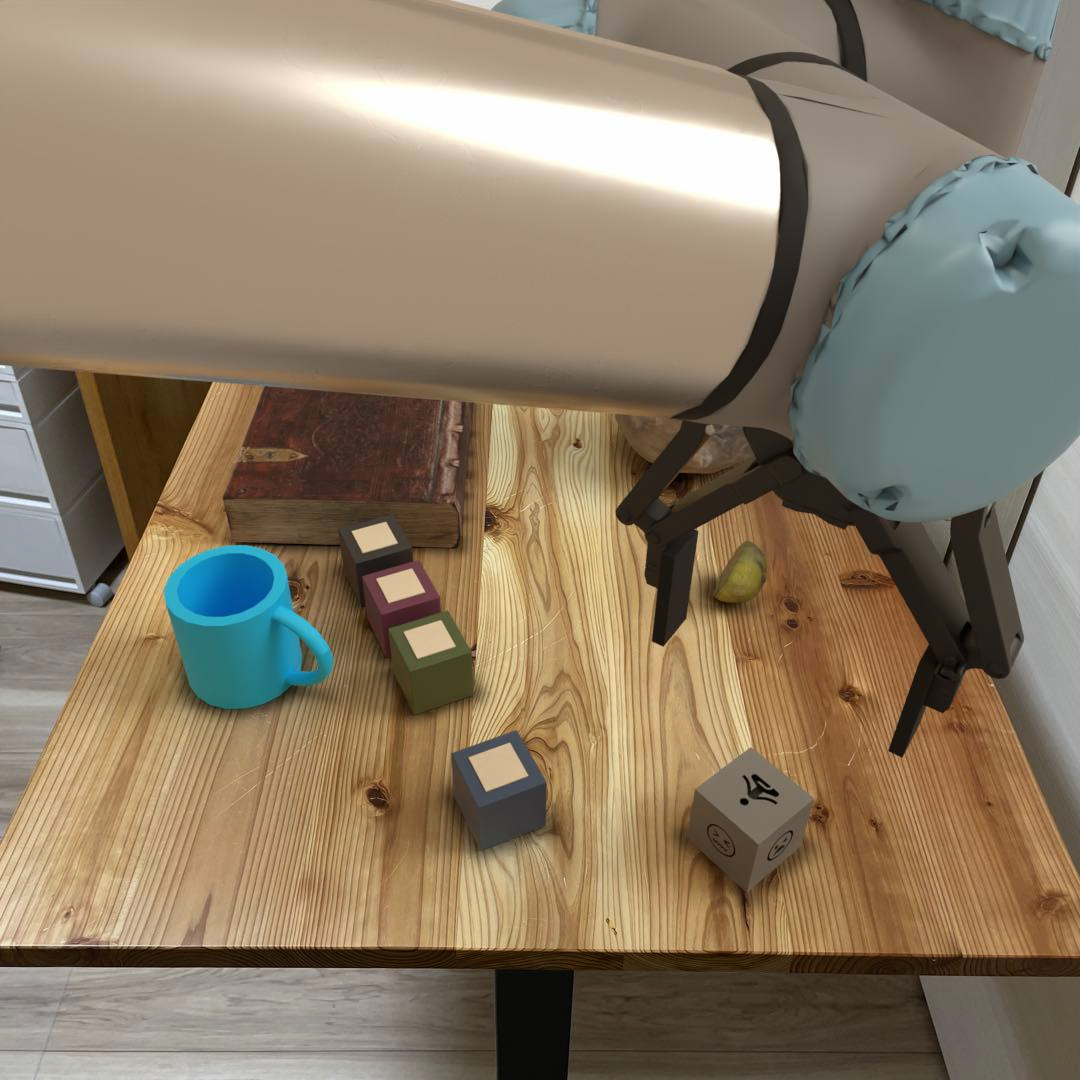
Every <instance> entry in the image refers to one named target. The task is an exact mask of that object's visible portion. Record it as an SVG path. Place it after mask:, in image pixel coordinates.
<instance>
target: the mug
mask: <svg viewBox="0 0 1080 1080" xmlns="http://www.w3.org/2000/svg"><path fill="white" fill-rule="evenodd" d="M163 596H164V602H165V606H166V610H167V613H168V616H169V621H170V624H171V627H172V631H173V634H174V637H175V641H176V644H177V647H178V651H179V654H180V657H181V661H182V664H183V669H184V672H185V674H186V678H187V681H188V686H189V688H190V689H191V690H192V692H193V693H194V694H195V696H196V697H197V698H198V699H199V700H201V701H203V702H204V703H206V704H208V705H209V706H213V707H216V708H221V709H224V710H246V709H250V708H254V707H257V706H261V705H265V704H267V703H269V702H271V701H273V700H274V699H276V698H278V697H281V695H283V693H285V692H286V691H287V690H288V689H290V688H291V687H292V686H298V687H311V686H315V685H318V684H321V683H323V682H324V681H325V680H327V678H328V677H329V676H330V675H331V673H332V672H333V669H334V668H333V666H334V656H333V653H332V651H331V647H330V646H329V644H328V642H327V641H326V640H325V639H324V637H323V636H322V634H321V633H320V632H319V631H318V630H317V629H316V628H315V627H314V626H313V625H312V624H311V623H310V622H309V621H307V620H306V619H305V618H303V617H302V616H300V615H299V614H297V613H296V612H295V611H294V605H293V600H292V595H291V590H290V584H289V580H288V574H287V570H286V568H285V565H284V563H283V562H282V561H281V560H280V559H279V558H278V557H277V555H275V554H273V553H271V552H269V551H268V550H265V549H264V548H262V547H257V546H251V545H247V544H244V545H242V544H241V545H239V544H238V545H234V544H233V545H232V544H231V545H223V546H219V547H214V548H209V549H207V550H204V551H202V552H200V553H197V554H195V555H193V556H191V557H190V558H188V559H187V560H185V561H183V562H182V563H181V564H179V565H178V566H177V567H176V568H175V569H174V571H173V572H172V573H171V574H170V576H169V577H168V578H167V580H166V584H165V586H164V589H163ZM300 639H301V641H302V642H304V643H305V644H306V646H307V647H308V648H309V649H310V651H311V653H312V654H313V655H314V658H315V660H316V662H317V668H316V670H312V671H303V670H302V665H303V659H304V657H303V653H302V648H301V643H300Z"/></svg>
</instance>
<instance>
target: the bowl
mask: <svg viewBox="0 0 1080 1080" xmlns="http://www.w3.org/2000/svg"><path fill="white" fill-rule="evenodd" d="M614 418H615V421H616V423H617V424H618V428H619V429H620V431H621V433H622V435H623V436H624V438H625V440H626V442H627V443H628V444H629V446H630V447H631V448H632V449H633V450H634V451H635V452H636V454H637V455H638V456H641V457H642V458H643V459H644V460H645V461H647V462H649V463H651V464H653V462H654V461H655V460H656V459H657V458H658V456H659V455H660V454H661V453H662V451H663V450H664V449H665V448H666V446H667V445H668V444H669V443H670V441H671V440H672V439H673V438H674V436H675V435H676V434H677V433H678V431H679V430H680V428H681V424H682V420H680V419H668V418H659V417H648V416H636V415H623V414H614ZM753 456H754V454H753V452H752V450H751V448H750V446H749V444H748V442H747V440H746V438H745V435H744V433H743V427H742V426H731V427H730V428H729V429H728V430H727V431H726V432H725V433H724V434H714V435H712V436H710V438H709V439H708V440H707V441H706V442H705V443H704V445H703V446H702V447H701V448H700V449H699V450H698V452H697V453H696V454H695V455H694V456H693V458H692V459H691V460H690V461H689V462H688V463H687V465H686V466H685V467H684V468H683V469H682V470H681V472H680V473H679V474H714V473H717V472H719V471H720V472H721V471H722V470H724V469H727V468H729V467H730V468H731V467H733V466H737V465H740V464H742V463H743V462H745V461H747V460H748V459H750V458H751V457H753Z"/></svg>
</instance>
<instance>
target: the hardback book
mask: <svg viewBox="0 0 1080 1080" xmlns="http://www.w3.org/2000/svg"><path fill="white" fill-rule="evenodd" d="M473 410H474V403H471V402H459V401H446V400H433V399H421V398H408V397H396V396H383V395H370V394H358V393H345V392H332V391H320V390H307V389H295V388H282V387H269V386H263V389H262V391H261V394H260V397H259V399H258V403H257V405H256V407H255V410H254V413H253V416H252V419H251V420H250V423H249V427H248V429H247V431H246V434H245V437H244V440H243V442H242V445H241V447H240V450H239V453H238V455H237V458H236V461H235V464H234V467H233V469H232V470H231V471H232V472H231V474H230V476H229V479H228V482H227V484H226V487H225V490H224V493H223V495H222V500H223V501H222V502H223V505H224V509H225V514H226V518H227V524H228V526H229V530H230V535H231V540H232V542H233V543H268V544H298V545H299V544H302V545H303V544H304V545H333V546H334V545H335V546H337V545H339V546H340V540H339V533H338V529H339V528H343V527H347V526H350V525H354V524H358V523H361V522H365V521H369V520H373V519H376V518H380V517H384V516H387V515H391V514H393V515H394V517H395V519H396V521H397V522H398V524H399V526H400V528H401V529H402V531H403V533H404V534H405V536H406V538H407V540H408V541H409V543H410V545H411V547H412V548H441V549H443V548H444V549H445V548H446V549H447V548H448V549H458V547H459V544H460V540H461V535H462V525H463V515H464V506H465V505H464V503H465V493H466V483H467V472H468V464H469V463H468V462H469V452H470V443H471V440H470V439H471V432H472V421H473Z"/></svg>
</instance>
